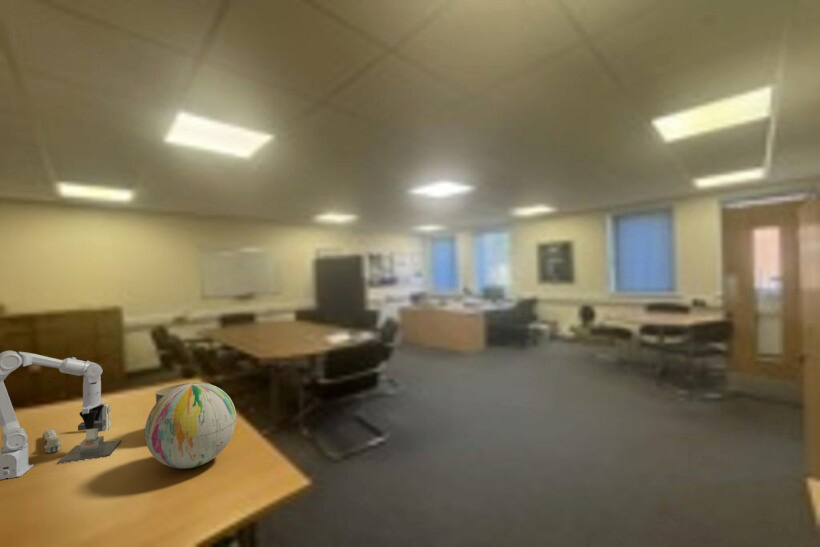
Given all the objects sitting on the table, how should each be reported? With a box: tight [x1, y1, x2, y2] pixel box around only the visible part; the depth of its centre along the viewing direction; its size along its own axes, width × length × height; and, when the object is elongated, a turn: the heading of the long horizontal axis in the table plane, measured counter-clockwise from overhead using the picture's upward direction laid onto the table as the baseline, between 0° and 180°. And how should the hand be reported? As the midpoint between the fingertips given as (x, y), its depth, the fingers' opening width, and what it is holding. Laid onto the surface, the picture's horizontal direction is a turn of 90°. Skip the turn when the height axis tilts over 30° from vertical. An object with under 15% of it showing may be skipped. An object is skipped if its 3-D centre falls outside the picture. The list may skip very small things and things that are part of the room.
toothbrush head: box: [42, 428, 63, 454], centre depth 169 cm, size 5×7×25 cm
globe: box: [144, 382, 237, 469], centre depth 148 cm, size 30×30×30 cm
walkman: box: [98, 403, 111, 432], centre depth 186 cm, size 8×3×12 cm, turn 98°
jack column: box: [77, 420, 106, 442], centre depth 161 cm, size 4×8×8 cm, turn 112°
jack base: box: [58, 435, 123, 465], centre depth 161 cm, size 16×16×5 cm
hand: (92, 426), depth 161 cm, fingers open, 5 cm apart
